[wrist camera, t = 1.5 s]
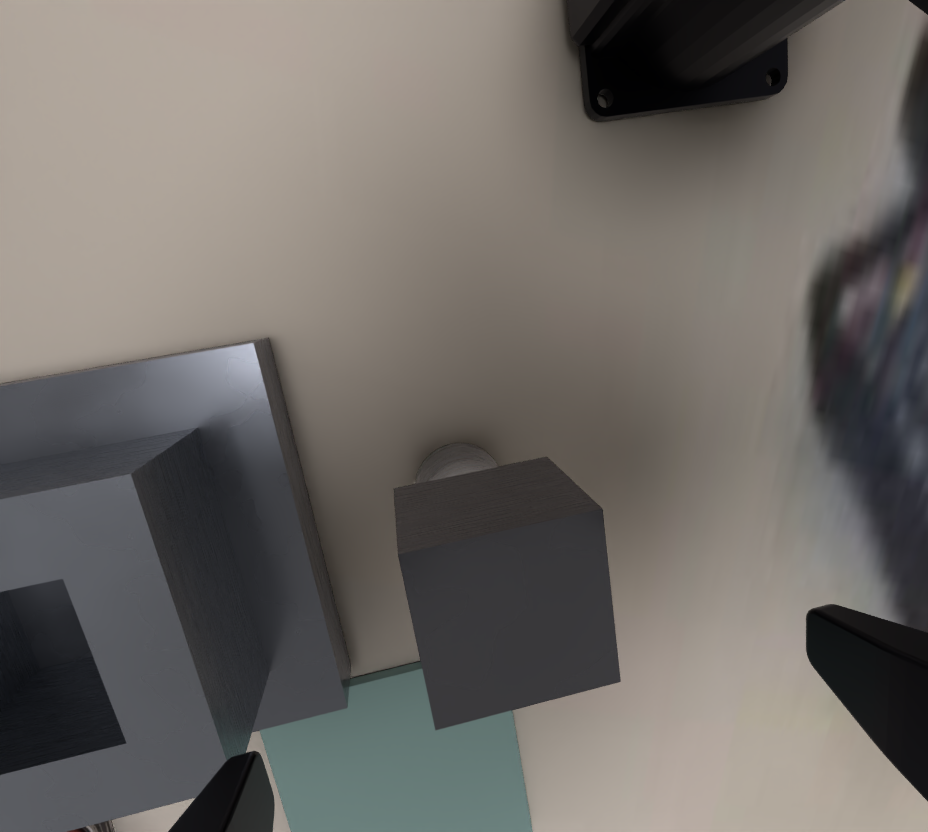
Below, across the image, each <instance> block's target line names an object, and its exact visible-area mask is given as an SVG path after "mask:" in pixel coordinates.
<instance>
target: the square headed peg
mask: <svg viewBox="0 0 928 832" xmlns="http://www.w3.org/2000/svg"><path fill="white" fill-rule="evenodd" d="M394 502H395V517H396V532H397V546H398V557H399V561H400V566H401V571H402V575H403V580H404V585H405V590H406V594H407V599H408V604H409V608H410V613H411V618H412V623H413V627H414V632H415V637H416V641H417V646H418V651H419V656H420V660H421V665H422V670H423V675H424V679H425V684H426V689H427V693H428V698H429V703H430V708H431V712H432V717H433V722H434V726H435V731H436V730H439V729H443V728H447V727H451V726H455V725H458V724H462V723H466V722H470V721H473V720H477V719H481V718H485V717H489V716H492V715H496V714H500V713H504V712H508V711H511V710H515V709H519V708H523V707H526V706H530V705H534V704H538V703H542V702H545V701H549V700H553V699H557V698H561V697H564V696H568V695H572V694H576V693H579V692H583V691H587V690H591V689H595V688H598V687H602V686H606V685H610V684H613V683H617V682H621V681H620V672H619V662H618V653H617V643H616V634H615V624H614V615H613V605H612V595H611V586H610V576H609V567H608V557H607V548H606V538H605V529H604V519H603V510H602V508H601V507H600V506H599V505H598V504H597V503H596V502H595V501H594V500H592V499H591V498H590V497H589V496H588V495H587V494H586V493H585V492H584V491H583V490H582V489H581V488H580V487H579V486H578V485H576V484H575V483H574V482H573V481H572V480H571V479H570V478H569V477H568V476H567V475H566V474H565V473H564V472H563V471H562V470H560V469H559V468H558V467H557V466H556V465H555V464H554V463H553V462H552V461H551V460H550V459H549V458H548V457H543V458H538V459H533V460H528V461H523V462H519V463H514V464H509V465H504V466H498V465H497V463H496V462H495V461H494V459H493V458H492V457H491V456H490V455H489V454H488V453H487V452H486V451H485V450H483V449H481V448H480V447H477V446H475V445H471V444H466V443H454V444H449V445H446V446H443V447H441V448H439V449H437V450H435V451H434V452H433V453H431V454H430V455H429V456H428V457H427V458H426V459H425V461H424V462H423V463H422V465H421V467H420V469H419V471H418V473H417V477H416V483H415V484H413V485H408V486H403V487H399V488H394Z"/></svg>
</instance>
